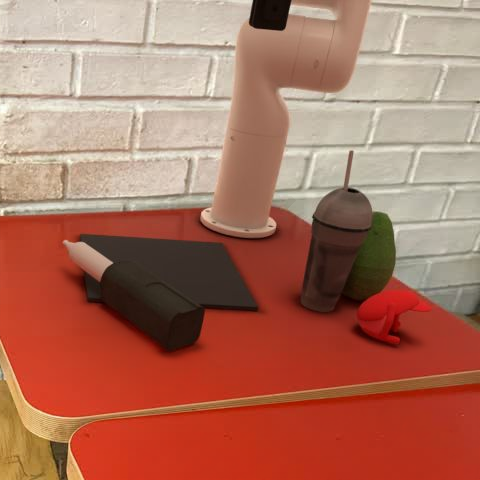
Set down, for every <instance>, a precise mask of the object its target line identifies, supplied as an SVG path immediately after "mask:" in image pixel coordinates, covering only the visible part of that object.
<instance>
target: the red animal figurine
mask: <svg viewBox="0 0 480 480" xmlns="http://www.w3.org/2000/svg"><path fill="white" fill-rule="evenodd" d="M408 311H412V312H419V313H427V312H431V311H433V308H432V306H431V305H430V304H428V303H427V302H425V301H423V300H421V299H419V298H418V295H416V294H415V293H414V292H412V291H409V290H407V289H389V290H384V291H381V292H380V293H378V294H376V295H374V296H372V297H370V298H368V299H365V300H364V301H363V302H362V303H361V304H360V306H359V307H358V309H357V312H356V318H357V321H358V324H359V326H360V329H361V331H363V332H364V333H365V334H367V335H368V336H369V337H371V338H374V339H376V340H379V341H383V342H386V343H390V344H394V345H398V344H399V343H400V342H401V339H400V337H398V336H394V335H390V334H389V332H390V331H391V332H392V333H397V332H398V331H399V328H400V326H401V324H402V323H401V321H400V316H401V315H402V314H404V313H406V312H408Z"/></svg>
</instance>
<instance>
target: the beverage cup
mask: <svg viewBox="0 0 480 480" xmlns="http://www.w3.org/2000/svg"><path fill="white" fill-rule="evenodd" d="M354 152H355V151H354V150H351V149H350V150H349V152H348V157H347V162H346V163H347V164H346V169H345V175H344V180H343V181H344V182H343V187H339V188H336V189H333V190H332V191H330V192H328V193H326V194H325V195H324V196H323V197H322V198H321V199H320V200H319V202H318V204H317V206H316V208H315V210H314V212H313V214H312V215H311V218H312V222H311V228H310V229H311V231H310V233H311V236H310V242H309V247H308V253H307V258H306V265H305V270H304V275H303V279H302V280H303V281H302V287H301V295H300V304H301V305H302V306H303V307H305V308H306V309H308V310H312V311H315V312H318V313H319V312H320V313H329V312H332V311H334V310H335V308H336V305H337V303H338V301H339V299H340V298H341V296H342V295H341V294H342V290H343V288H344V285H345V283H346V280H347V278H348V276H349V273H350V271H351V268H352V266H353V264H354V261H355V259H356V256H357V254H358V251H359V249H360V247H361V244H362V243H363V242H364V240H365V239H366V237H367V235H368V232H369V230H371V224H372V211H373V207H372V203H371V202H370V200H369V199H368V197H367V196H366V195H365V194H364V193H363V192H362V191H360V190H359V189H356V188H353V187H349V184H350V179H351V173H352V172H351V171H352V165H353V159H354Z"/></svg>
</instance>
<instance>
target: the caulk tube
mask: <svg viewBox="0 0 480 480" xmlns="http://www.w3.org/2000/svg"><path fill="white" fill-rule="evenodd" d="M62 245H63V246H64V247H65V248H66V249H67V251H68V257H69V259H70V261H71V262H72V263H73V264H75V265H76V266H78V267H79V268H80V269H82V270H83V272H84V271H86V272H87V273H88V274H90V275H91V276H92V277H94V278H95V279H97V280H98V281H99V282H100V288H101V299H102V300H103V301H104V302H105V303H104V304H106V305H108V306H109V307H110V308H111V309H113V310H114V311H115V312H117V313H118V314H119V315H121V316H122V317H123V318H124V319H126V320H127V321H128V322H130V323H131V324H132V325H134V327H136V328H137V329H138V330H140V331H141V332H143V333H144V334H145V335H146V336H148V337H149V338H150V339H151V340H153V341H154V342H156V343H157V344H158V345H160V346H161V347H162V348H163V349H165V350H166V351H168V352H170V353H172V352H174V351H176V350H178V349H180V348H181V349H182V348H183V347H187V346H193V345H194V344H196V343H197V342H198V340H199V338H200V336H201V332H202V329H203V328H202V327H203V323H204V318H205V314H206V310H205V308H203V307H202V306H200V305H199V304H197V303H196V302H194V301H193V300H191V299H190V298H188V297H187V296H186V295H184V294H183V293H181V292H180V291H178V290H177V289H175V288H174V287H172V286H171V285H169V284H168V283H166V282H165V281H163V280H162V279H160V278H159V277H157V276H156V275H154V274H153V273H151V272H150V271H148V270H147V269H145V268H144V267H142V266H141V265H139V264H138V263H136V262H135V261H133V260H129V261H124V262H121V261H119V263H113V262H111V261H110V260H108V259H107V258H106V257H104V256H103V255H101V254H100V253H98V252H97V251H95V250H94V249H93V248H91V247H90V246H88V245H87V244H85V243H84V242H81V241H77V242H71V241H69V240H68V239H64V240H63V241H62Z"/></svg>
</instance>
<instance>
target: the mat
mask: <svg viewBox="0 0 480 480" xmlns="http://www.w3.org/2000/svg"><path fill="white" fill-rule="evenodd" d="M79 240H80V242H84V243H85V244H87V245H88V246H90V247H91V248H93V249H94V250H95V251H97V252H98V253H100V254H101V255H103V256H104V257H106V258H107V259H108V260H110V261H111V262H113V263H119V261H121V262H124V261H129V260H133V261H135V262H136V263H138V264H139V265H141V266H142V267H144V268H145V269H147V270H148V271H150V272H151V273H153V274H154V275H156V276H157V277H159V278H160V279H162V280H163V281H165V282H166V283H168V284H169V285H171V286H172V287H174V288H175V289H177V290H178V291H180V292H181V293H183V294H184V295H186V296H187V297H188V298H190V299H191V300H193V301H194V302H196V303H197V304H199V305H200V306H202V307H203V308H204V309H215V310H231V311H232V310H235V311H254V312H258V311H259V305H258V304H257V302H256V299H255V298H254V297H253V295H252V293H251V290H249V287H248V286H247V283H245V281H244V278H243V277H242V276H241V274H240V272H239V270H238V269H237V267H236V265H235V263H234V261H233V259H232V258H231V256H230V255H229V253H228V251H227V249H226V248H225V246H224V244H223V243H222V242H216V241H200V240H185V239H168V238H152V237H137V236H123V235H108V234H107V235H105V234H91V233H90V234H89V233H79ZM83 273H84V280H85V289H86V298H87V302H88V303H100V304H101V303H104V304H106V303H105V302H104V301H103V300H102V299H101V288H100V282H99V281H98V280H97V279H95V278H94V277H92V276H91V275H90V274H88V273H87V272H86V271H84V270H83Z"/></svg>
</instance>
